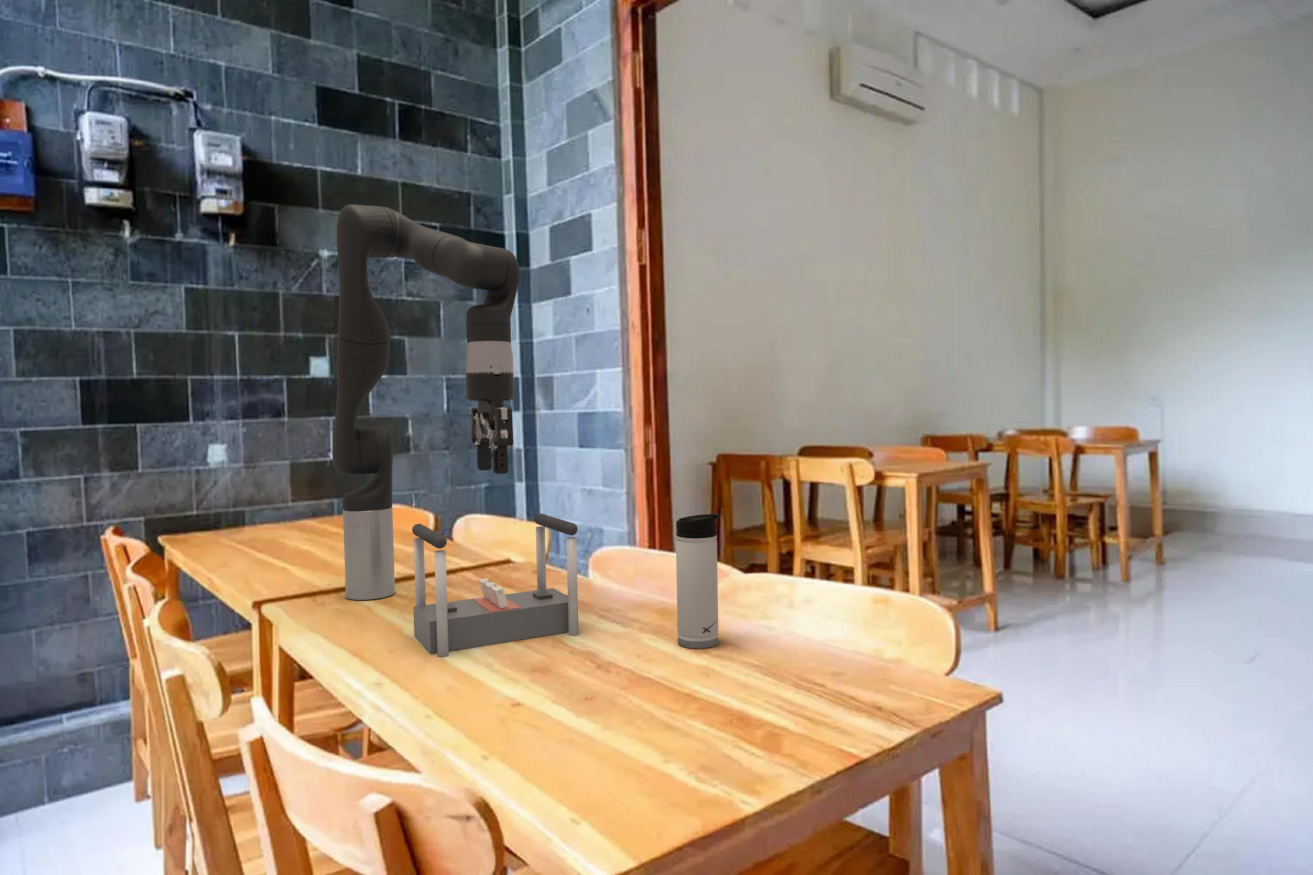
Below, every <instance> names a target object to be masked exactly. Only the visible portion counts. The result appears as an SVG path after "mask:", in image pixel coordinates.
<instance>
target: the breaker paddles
mask: <svg viewBox="0 0 1313 875" xmlns="http://www.w3.org/2000/svg"><path fill="white" fill-rule="evenodd" d="M478 582H479V585H480V589H481V591H482V595H483V597H484V598H486V599H487V600H488V599H490V602H492V603H493V604H495V603H496V604H497V606H498V607H499V608H504V607H506V606H508V604H507V601H506V597H505V594H506V593H505V590H504V588H503V587H502V586H500V585H498V586H497V583H495V582H493V581H490V579H488V578H487V577H485V578H482V579H479V580H478Z"/></svg>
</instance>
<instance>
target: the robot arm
mask: <svg viewBox="0 0 1313 875" xmlns="http://www.w3.org/2000/svg"><path fill="white" fill-rule="evenodd" d="M336 251H337V268H338V283H339V284H338V285H339V291H338V292H339V295H338V296H339V298H338V299H339V300H338V301H339V305H338V308H339V309H338V326H337V328H338V329H337V330H338V331H337V348H336V349H337V352H336V353H337V354H336V356H337V357H336V358H337V361H336V362H337V364H336V365H337V380H336V382H337V390H336V391H337V393H336V406H335V417H334V427H333V439H332V453H331V454H332V464H333V467H334V470H335V471H336V473H337V474H339V475H343V476H355V475H372V476H371V479H370V480H369V482H367V483H366V484H365V485H363V486H362V487H360V488H357V489H355V490H353V491H350V492H348V493H346V494H344V495H343V497H342V521H343V522H342V523H343V551H344V552H343V553H344V583H345V585H344V586H345V587H344V588H345V597H346V599H349V600H357V601H364V600H377V599H382V598H383V599H384V598H387V597H390V596H393V595H394V594H395V592H396V590H395V588H396V587H395V586H396V584H395V550H394V548H395V545H394V521H393V520H394V519H393V518H394V517H393V513H394V512H393V465H394V464H393V463H394V462H393V458H394V456H393V455H394V446H393V439H392V434H391V432H390V430H389V429H388V428H386V426H385V427H384V426H358V427H357V426H355V424H356V421H357V417H358V414H359V411H360V410H361V407H362V405H363V404H364V402H365V400H366V398H368V396H369V395H370V394H371V392H372V390H373V389H374V388H375V387H376V385H377V384H378V383H379V381H380V380H381V379H382V378H383V375H384V374H385V372H386V370H387V368H388V365H389V364H390V363H389V362H390V347H391V346H390V345H391V343H390V342H391V331H390V330H391V329H390V327H389V324H388V322H387V319H386V318H385V315H384V313H383V312H382V310H381V308H380V306H379V305H378V303H377V301H376V299H375V298H374V296H373V294H372V291H371V288H370V285H369V278H368V277H369V276H368V259H388V258H409V259H413V261H414V262H415V263H416V264H417V265H418V266H419V267H421V268H422V269H423V270H426V271H427V272H430V273H433V274H435V275H438V276H442V277H444V278H447V279H449V280H451V281H452V282H453V283H455V284H457V285H460V286H462V287H465V288H469V289H475V290H481V291H486V294H485V299H484V302H483V304H477V305H473V306H470V307H469V308H468V309H467V311H466V314H465V316H466V317H465V326H466V327H465V330H466V331H465V334H466V335H465V336H466V349H465V388H466V389H465V390H466V392H465V393H466V400H467V401H469V402H477V403H478V404H477V407H471V410H470V412H471V439H470V440H471V444H474V446H475V447H474V448H476V461H477V462H476V466H477V467H476V468H477V470H478V471H490V470H491V469H492V472H493V474H495V475H504V474H507V473H508V472H509V458H508V457H509V456H508V450H509V449H510V446H513V445H514V432H513V430H514V429H513V410H512V407H511V406H505V405H504V402H505V401H508V402H509V401H512V400H514V398H515V383H514V382H515V380H514V379H515V378H514V355H513V348H512V327H511V326H512V323H511V317H512V313H513V309H514V305H515V300H516V296H517V293H518V292H517V291H518V287H519V284H520V279H521V278H520V277H521V273H520V272H521V271H520V265H519V262H518V260H517V257H516V256H515V253H513V252H512V251H510V250H509V249H506V248H503V247H499V246H498V247H497V246H492V245H487V244H483V243H475V242H472V241H468V240H467V239H466V238H465V239H464V238H463V237H461V236H457V235H454V234H452V233H447V232H444V231H440V230H437V229H433V228H429V227H427V226H424V225H422V224H420V223H417V222H416V221H414V220H411V218H408V217H407V216H406V215H404V214H402V213H400V212H399V211H396V210H394V209H393V208H390V207H386V206H378V205H377V206H376V205H363V204H347V205H345V206H344V207H342V209H341V210H340V212H339V215H338V218H337V222H336Z"/></svg>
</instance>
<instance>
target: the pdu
mask: <svg viewBox="0 0 1313 875" xmlns="http://www.w3.org/2000/svg"><path fill="white" fill-rule="evenodd" d="M577 543H578V542H577V536H569V537H566V570H567V571H566V573H567V575H566V576H567V577H566V580H567V594H566V593H563V592H561V591H559V590H558V589H555V588H553V587H550V588H547V563H546V562H547V560H546V556H547V555H546V554H547V553H546V527H544V526H541V525H539V526H535V546H536V547H535V548H536V550H535V553H536V554H535V555H536V583H537V584H536V587H537V588H536V590H528V591H521V592H513V593H504V594H505V597H506V601H507V604H508V606H506V607H504V608H499V607H498V606H497V604H496V603H495V604H493V603H492V602H490V599H488V600H487V599H486V598H484V596H483V597H476V598H475V597H474V598H468V599H460V600H455V601H454V600H451V601H448V590H447V589H448V586H447V584H448V582H447V554H446V553H447V551H446V550H444V549H441V550H440V549H439V550H435V551H434V572H435V573H434V578H435V579H434V580H435V584H434V585H435V603H429V604H427V603H426V600H427V599H426V598H427V597H426V596H427V595H426V566H425V564H426V563H425V562H426V561H425V541H424V540H422V539H421V538H419V537H414V538H413V560H414V562H413V563H414V594H415V595H414V596H415V599H414V600H415V605H414V606H413V609H412V610H413V611H412V612H413V635H414V638H415V640H417V641H418V642H419V643H420V645H421V646H422V647H423V648H424V649H425V650H426V651H427V652H428V653H429V654H430V655H433V654H437V657H439V658H445V657H448V656H449V652H452V651H453V652H454V651H459V650H465V649H473V648H478V647H484V646H490V645H491V646H492V645H496V644H503V643H504V644H505V643H509V642H517V641H521V640H522V641H523V640H527V639H534V638H539V637H547V636H552V635H558V634H566V633H568V636H578V635H579V632H580V631H579V598H578V596H579V594H578V590H579V588H578V587H579V586H578V585H579V584H578V583H579V582H578V548H577V546H578V544H577Z"/></svg>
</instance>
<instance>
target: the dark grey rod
mask: <svg viewBox="0 0 1313 875" xmlns="http://www.w3.org/2000/svg"><path fill="white" fill-rule="evenodd" d="M534 522H535V523H536V524H537V525H539V526H544V527H545V528H548V529H551V530H553V531H556V532H559V533H562V534H564V535H567V536H574V535H576V534H577V533H578V525H577V524H576V523H574V522H570V521H568V520H564V519H562V518H557V517H554V516H552V515H547V514H544V513H537V514H536V515H534Z"/></svg>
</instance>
